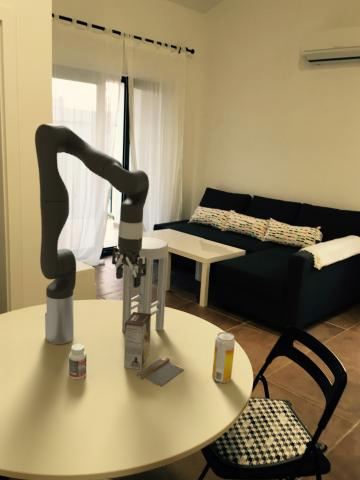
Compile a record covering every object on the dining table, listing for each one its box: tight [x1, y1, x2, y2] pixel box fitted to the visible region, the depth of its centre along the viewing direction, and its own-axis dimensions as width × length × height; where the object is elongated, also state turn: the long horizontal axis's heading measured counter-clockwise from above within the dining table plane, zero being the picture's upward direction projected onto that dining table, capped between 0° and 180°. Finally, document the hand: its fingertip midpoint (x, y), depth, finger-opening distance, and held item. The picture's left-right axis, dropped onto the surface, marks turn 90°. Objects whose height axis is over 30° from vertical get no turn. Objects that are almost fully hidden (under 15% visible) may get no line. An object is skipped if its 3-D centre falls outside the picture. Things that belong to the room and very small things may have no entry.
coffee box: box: [123, 311, 152, 371], centre depth 149 cm, size 9×6×16 cm
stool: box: [121, 237, 169, 333], centre depth 168 cm, size 16×16×35 cm
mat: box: [136, 358, 184, 387], centre depth 145 cm, size 10×12×1 cm
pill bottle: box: [68, 343, 87, 380], centre depth 140 cm, size 5×5×10 cm
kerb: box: [140, 357, 170, 381], centre depth 146 cm, size 1×14×1 cm, turn 146°
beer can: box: [211, 331, 236, 384], centre depth 142 cm, size 6×6×15 cm
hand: (127, 282), depth 145 cm, fingers open, 8 cm apart
